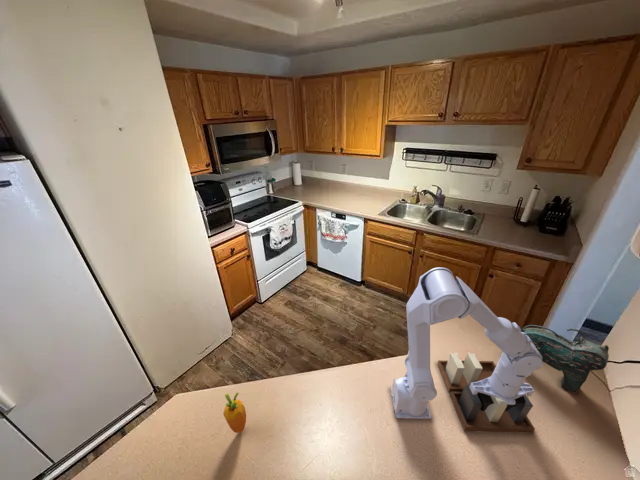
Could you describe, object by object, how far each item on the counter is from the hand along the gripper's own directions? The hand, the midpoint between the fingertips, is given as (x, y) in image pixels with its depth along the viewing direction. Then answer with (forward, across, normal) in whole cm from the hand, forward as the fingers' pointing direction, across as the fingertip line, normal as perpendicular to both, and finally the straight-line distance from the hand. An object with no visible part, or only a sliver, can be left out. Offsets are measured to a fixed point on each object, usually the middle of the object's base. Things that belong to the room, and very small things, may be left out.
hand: (491, 407), depth 69 cm
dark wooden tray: (+3, 0, 0) cm, 3 cm away
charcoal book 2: (+2, +6, 0) cm, 7 cm away
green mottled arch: (+3, +22, +12) cm, 25 cm away
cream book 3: (+2, 0, 0) cm, 2 cm away
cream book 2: (+2, -1, +10) cm, 10 cm away
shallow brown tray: (+3, 0, +10) cm, 10 cm away
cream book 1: (+2, -6, +10) cm, 12 cm away
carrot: (+3, -67, -6) cm, 67 cm away
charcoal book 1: (+2, -6, 0) cm, 7 cm away
